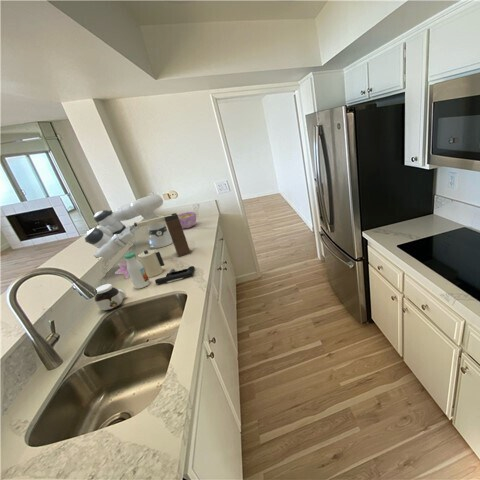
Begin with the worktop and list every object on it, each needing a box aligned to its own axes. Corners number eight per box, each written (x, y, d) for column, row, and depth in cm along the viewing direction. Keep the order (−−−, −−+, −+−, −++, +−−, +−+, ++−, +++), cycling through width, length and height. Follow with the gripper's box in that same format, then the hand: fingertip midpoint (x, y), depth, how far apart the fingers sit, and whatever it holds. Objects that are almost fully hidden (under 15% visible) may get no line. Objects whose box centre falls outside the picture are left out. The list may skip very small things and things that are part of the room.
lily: (115, 282, 162) (113, 272, 156) (118, 268, 170) (117, 257, 164) (138, 281, 168) (137, 271, 162) (141, 267, 175) (140, 257, 170)
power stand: (176, 252, 193) (163, 215, 181) (188, 249, 197) (175, 212, 185) (178, 257, 185) (164, 218, 174) (190, 253, 189) (177, 215, 178)
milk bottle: (143, 289, 148) (129, 257, 140) (131, 288, 150) (117, 257, 142) (153, 281, 155) (140, 251, 147) (142, 281, 157) (129, 251, 149)
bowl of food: (176, 232, 236) (172, 220, 231) (176, 227, 252) (172, 215, 248) (200, 226, 244) (196, 215, 240) (198, 221, 261) (194, 210, 256)
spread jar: (100, 314, 130) (89, 295, 125) (101, 304, 138) (91, 285, 134) (129, 304, 136) (119, 284, 131) (128, 294, 144) (119, 276, 140)
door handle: (160, 270, 163) (153, 281, 148) (194, 262, 168) (191, 272, 153) (162, 275, 164) (155, 286, 149) (196, 267, 169) (193, 277, 154)
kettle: (142, 280, 158) (132, 257, 152) (141, 274, 166) (131, 252, 159) (166, 272, 165) (158, 249, 159) (165, 267, 172) (156, 245, 166)
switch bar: (135, 227, 172) (133, 222, 170) (172, 218, 182) (171, 213, 181) (136, 228, 169) (134, 223, 168) (173, 219, 180) (171, 214, 179)
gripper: (124, 239, 177) (141, 224, 180) (124, 248, 161) (142, 232, 164) (115, 233, 174) (133, 218, 177) (114, 241, 158) (133, 225, 161)
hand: (137, 225), depth 170 cm, fingers open, 8 cm apart
